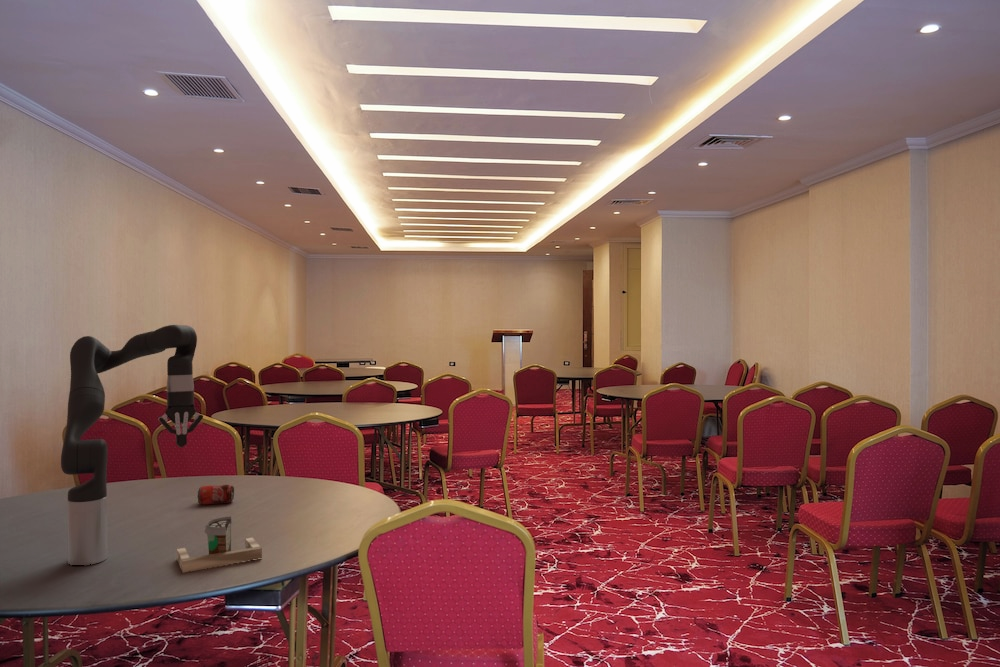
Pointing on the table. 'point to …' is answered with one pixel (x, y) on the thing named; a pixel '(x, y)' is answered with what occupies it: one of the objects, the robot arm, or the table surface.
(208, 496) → the beverage can
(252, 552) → the wooden bridge piece
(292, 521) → the table surface
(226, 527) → the food container
